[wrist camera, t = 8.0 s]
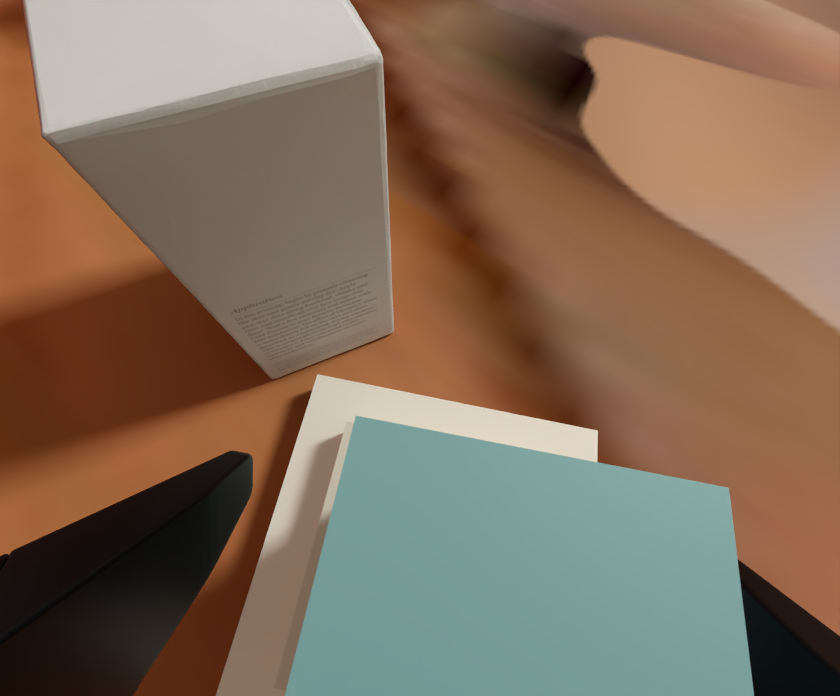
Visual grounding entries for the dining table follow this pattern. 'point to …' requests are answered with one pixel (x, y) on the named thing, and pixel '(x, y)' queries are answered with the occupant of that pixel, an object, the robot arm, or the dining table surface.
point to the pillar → (518, 577)
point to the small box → (234, 155)
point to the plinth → (313, 500)
